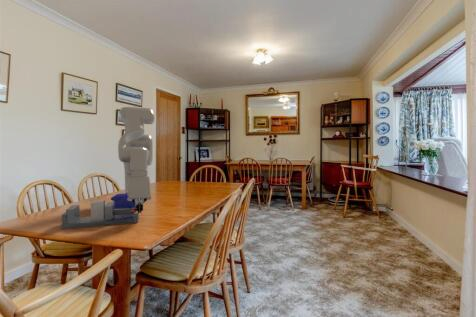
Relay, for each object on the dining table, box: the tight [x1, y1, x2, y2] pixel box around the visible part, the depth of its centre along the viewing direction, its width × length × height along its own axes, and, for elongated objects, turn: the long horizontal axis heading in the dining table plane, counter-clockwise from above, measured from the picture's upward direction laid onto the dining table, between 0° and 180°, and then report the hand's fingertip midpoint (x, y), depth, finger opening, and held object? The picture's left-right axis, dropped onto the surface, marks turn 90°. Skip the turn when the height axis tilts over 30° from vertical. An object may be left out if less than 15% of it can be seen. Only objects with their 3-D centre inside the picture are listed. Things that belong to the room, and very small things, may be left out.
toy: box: [110, 192, 141, 209], centre depth 147 cm, size 10×17×15 cm
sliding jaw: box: [105, 201, 137, 220], centre depth 124 cm, size 9×13×6 cm
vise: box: [61, 204, 140, 230], centre depth 121 cm, size 10×30×8 cm, turn 108°
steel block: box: [90, 199, 106, 221], centre depth 121 cm, size 5×5×8 cm
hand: (139, 212), depth 126 cm, fingers closed
